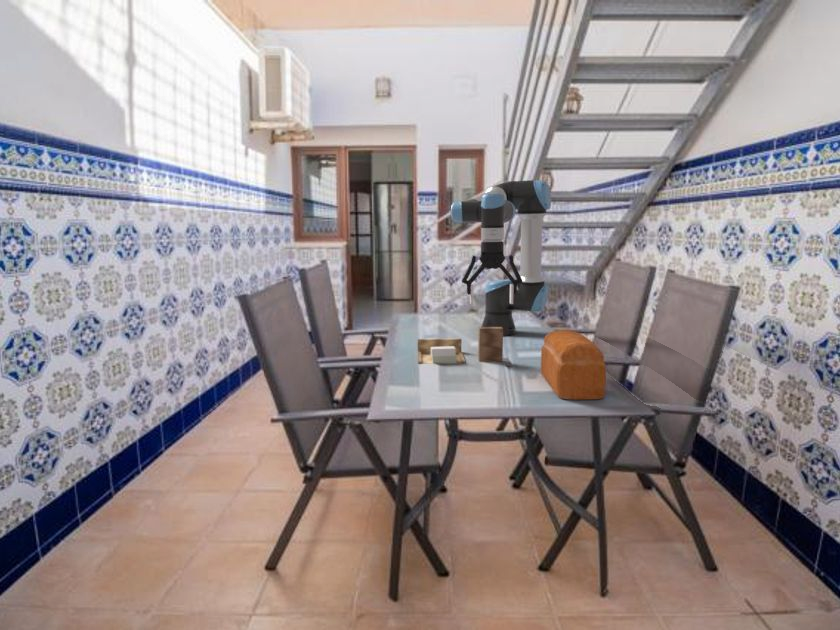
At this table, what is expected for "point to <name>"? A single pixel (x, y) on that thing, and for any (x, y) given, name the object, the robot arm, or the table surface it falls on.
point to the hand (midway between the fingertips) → (491, 303)
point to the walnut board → (490, 344)
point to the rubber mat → (506, 362)
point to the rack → (426, 345)
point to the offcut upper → (443, 351)
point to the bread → (573, 366)
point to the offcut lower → (444, 359)
